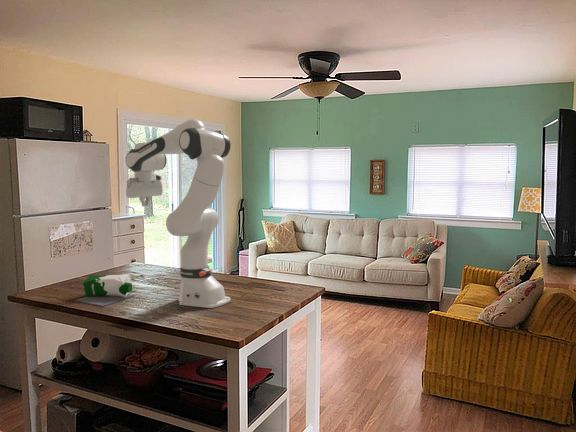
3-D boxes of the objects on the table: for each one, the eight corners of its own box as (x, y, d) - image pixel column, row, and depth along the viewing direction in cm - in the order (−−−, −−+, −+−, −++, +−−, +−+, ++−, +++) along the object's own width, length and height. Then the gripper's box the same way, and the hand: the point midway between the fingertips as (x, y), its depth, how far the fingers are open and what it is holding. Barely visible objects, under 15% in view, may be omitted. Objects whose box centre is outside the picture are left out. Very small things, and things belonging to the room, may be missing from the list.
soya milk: (81, 281, 204) (126, 281, 202) (91, 272, 212) (134, 271, 210) (85, 299, 206) (129, 299, 205) (94, 289, 215) (137, 289, 213)
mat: (133, 296, 207) (133, 295, 207) (102, 306, 194) (102, 305, 194) (106, 291, 216) (106, 290, 216) (75, 300, 202) (75, 299, 202)
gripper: (131, 178, 216) (133, 208, 218) (164, 176, 234) (165, 204, 236) (122, 178, 220) (123, 207, 221) (154, 176, 237) (155, 204, 239)
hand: (145, 206), depth 229 cm, fingers closed
